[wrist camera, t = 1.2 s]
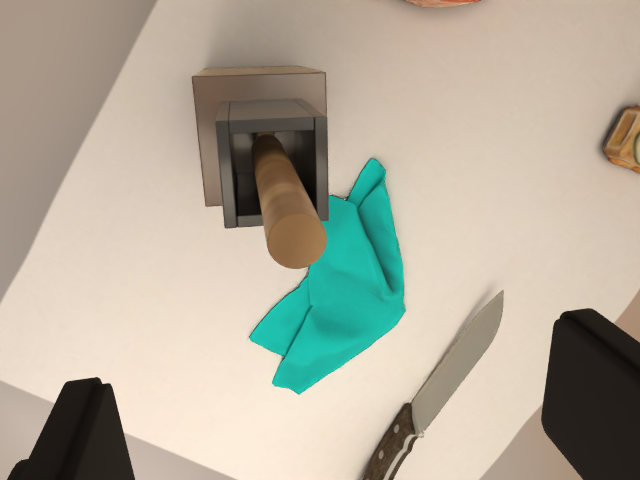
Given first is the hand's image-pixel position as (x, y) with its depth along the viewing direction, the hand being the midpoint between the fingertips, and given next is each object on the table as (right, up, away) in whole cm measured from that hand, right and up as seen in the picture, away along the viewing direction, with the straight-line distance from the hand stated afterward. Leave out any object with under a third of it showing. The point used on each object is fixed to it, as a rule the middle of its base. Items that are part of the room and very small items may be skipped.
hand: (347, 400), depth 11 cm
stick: (-4, +9, +21) cm, 24 cm away
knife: (+11, -14, +48) cm, 51 cm away
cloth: (+2, -2, +42) cm, 42 cm away
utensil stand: (-6, +14, +34) cm, 38 cm away
